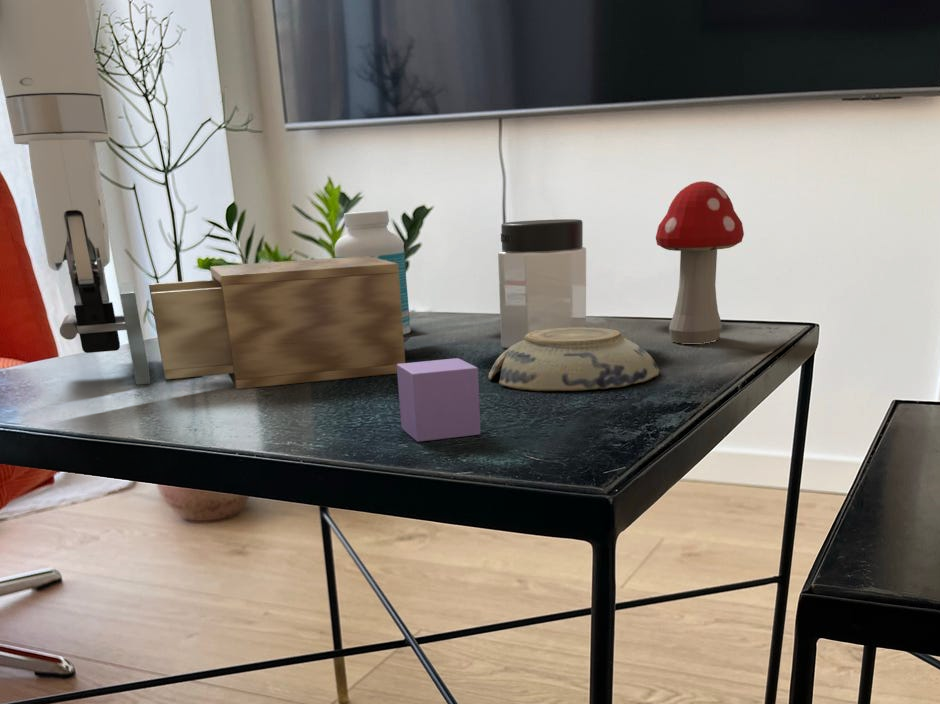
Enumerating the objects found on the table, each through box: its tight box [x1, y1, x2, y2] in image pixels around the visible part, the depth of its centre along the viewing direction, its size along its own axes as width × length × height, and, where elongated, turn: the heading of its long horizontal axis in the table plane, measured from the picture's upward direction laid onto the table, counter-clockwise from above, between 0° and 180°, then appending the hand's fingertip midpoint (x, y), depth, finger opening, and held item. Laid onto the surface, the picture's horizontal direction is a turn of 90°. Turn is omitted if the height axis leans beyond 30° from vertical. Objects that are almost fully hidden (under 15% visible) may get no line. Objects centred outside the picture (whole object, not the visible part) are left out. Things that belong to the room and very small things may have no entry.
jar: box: [497, 218, 587, 350], centre depth 103 cm, size 9×8×12 cm
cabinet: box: [209, 256, 406, 390], centre depth 96 cm, size 16×13×10 cm
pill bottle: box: [334, 209, 411, 343], centre depth 110 cm, size 8×7×14 cm
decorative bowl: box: [487, 326, 660, 392], centre depth 89 cm, size 15×4×15 cm
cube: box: [396, 357, 482, 443], centre depth 71 cm, size 5×5×5 cm
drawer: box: [59, 279, 234, 385], centre depth 93 cm, size 20×11×8 cm, turn 108°
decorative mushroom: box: [655, 180, 745, 344], centre depth 102 cm, size 10×9×15 cm
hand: (102, 350), depth 92 cm, fingers closed
